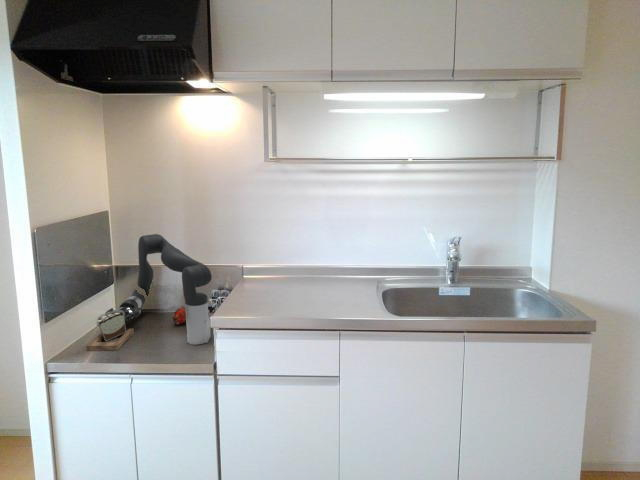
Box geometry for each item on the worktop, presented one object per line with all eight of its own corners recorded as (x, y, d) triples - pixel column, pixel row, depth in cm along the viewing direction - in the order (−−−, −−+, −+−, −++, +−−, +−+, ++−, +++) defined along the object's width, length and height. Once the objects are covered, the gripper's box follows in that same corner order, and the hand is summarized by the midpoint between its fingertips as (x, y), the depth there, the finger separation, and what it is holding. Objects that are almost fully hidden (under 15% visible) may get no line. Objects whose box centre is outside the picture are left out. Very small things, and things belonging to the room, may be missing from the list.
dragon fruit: (193, 321, 216) (177, 333, 206) (180, 310, 217) (164, 322, 207) (200, 310, 212) (183, 322, 202) (187, 299, 213) (170, 310, 203)
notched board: (134, 332, 198) (134, 328, 198) (117, 350, 181) (117, 345, 180) (106, 333, 198) (105, 328, 198) (86, 350, 180) (86, 346, 180)
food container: (121, 327, 201) (117, 307, 198) (129, 330, 197) (124, 310, 194) (95, 339, 191) (89, 319, 189) (102, 343, 188) (97, 322, 185)
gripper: (115, 298, 210) (99, 311, 194) (145, 298, 210) (132, 310, 194) (116, 313, 211) (101, 327, 195) (146, 313, 212) (133, 326, 196)
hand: (116, 318), depth 195 cm, fingers open, 8 cm apart
